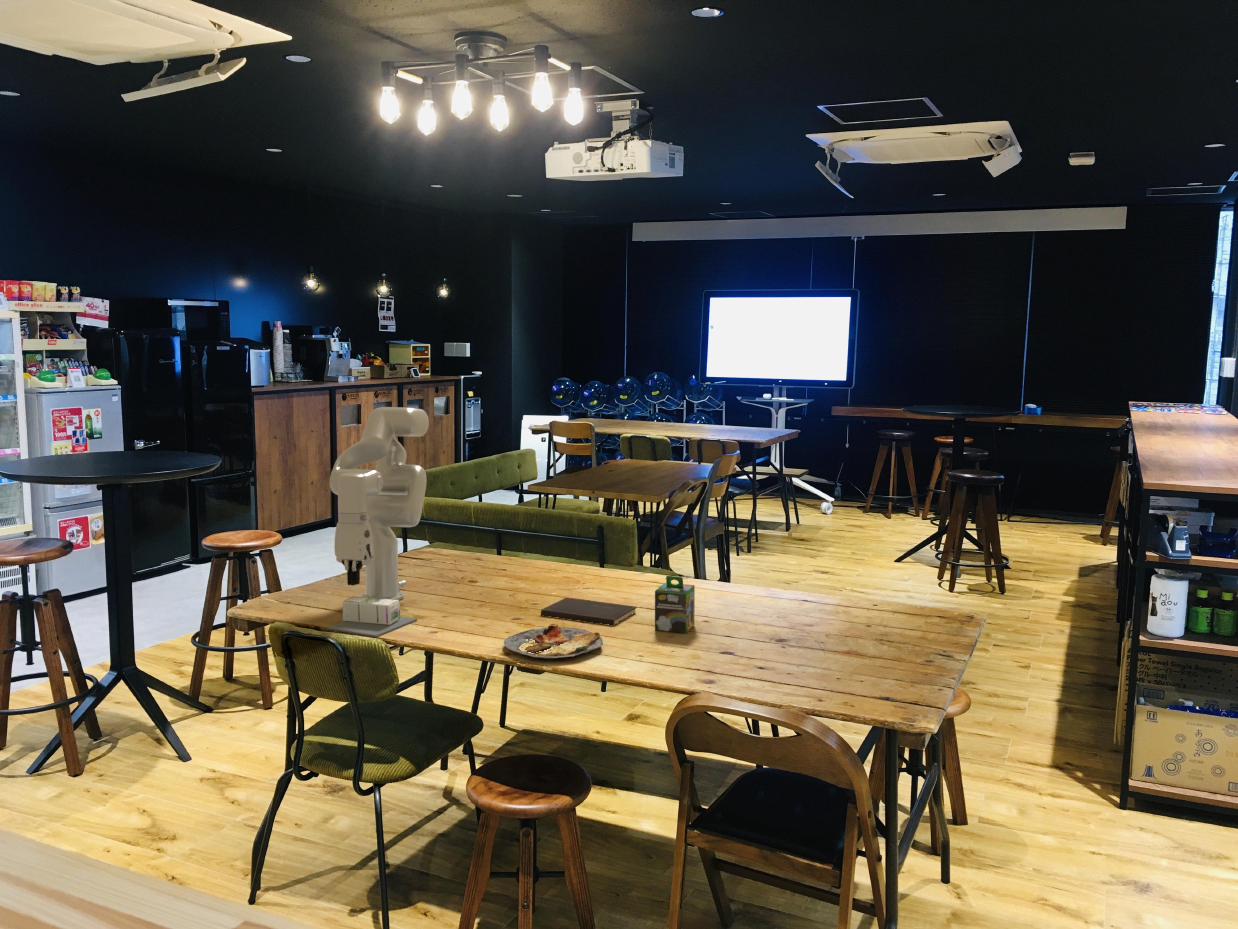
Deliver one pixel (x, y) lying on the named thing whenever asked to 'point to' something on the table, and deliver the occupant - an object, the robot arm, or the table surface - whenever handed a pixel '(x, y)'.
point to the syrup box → (371, 610)
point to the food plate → (555, 642)
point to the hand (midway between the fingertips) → (353, 584)
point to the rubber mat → (371, 627)
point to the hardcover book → (588, 611)
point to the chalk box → (674, 606)
